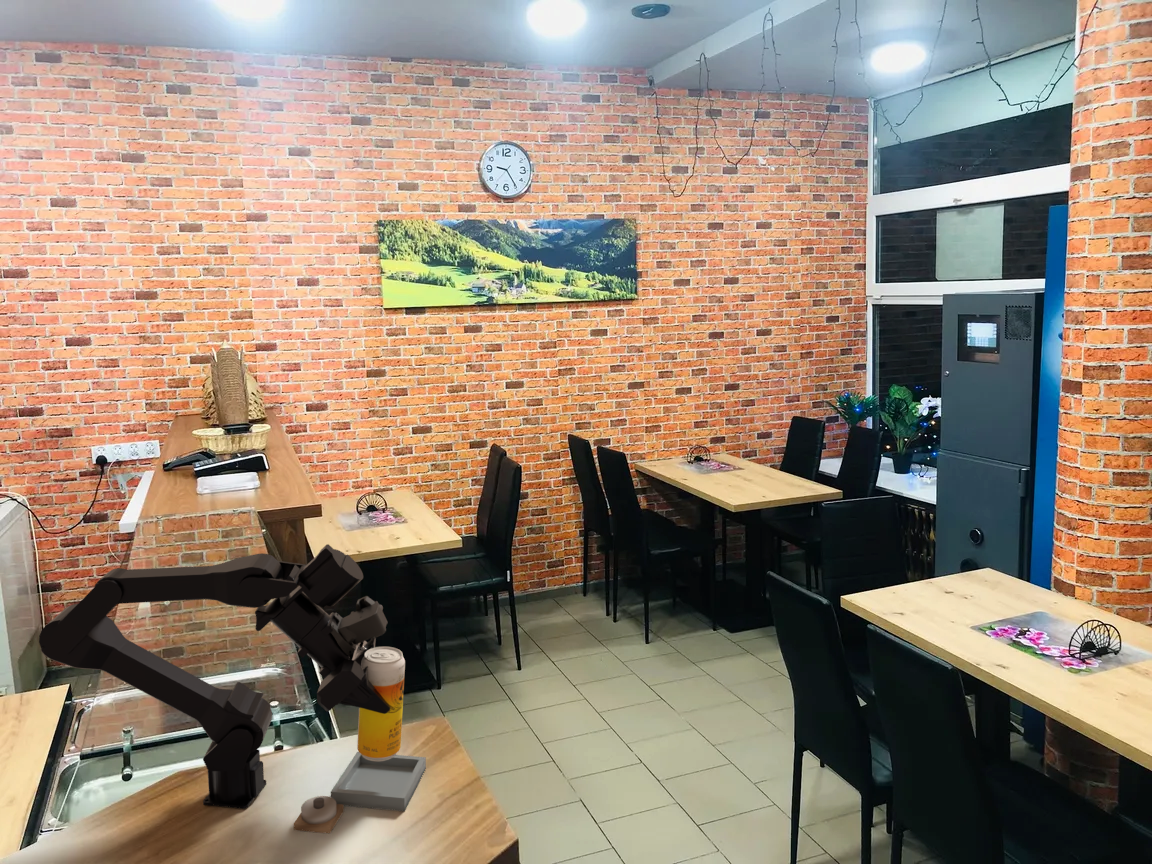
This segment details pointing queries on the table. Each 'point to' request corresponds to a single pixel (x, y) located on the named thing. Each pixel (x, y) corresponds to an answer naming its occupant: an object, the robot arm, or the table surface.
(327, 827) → the desk bell
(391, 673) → the beer can
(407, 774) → the tray
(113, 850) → the table surface
